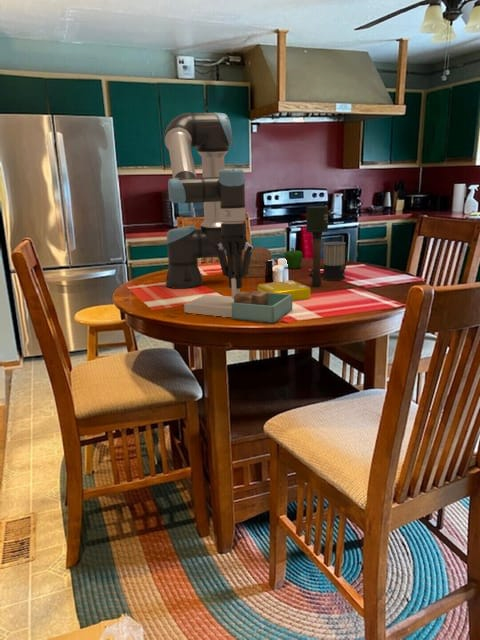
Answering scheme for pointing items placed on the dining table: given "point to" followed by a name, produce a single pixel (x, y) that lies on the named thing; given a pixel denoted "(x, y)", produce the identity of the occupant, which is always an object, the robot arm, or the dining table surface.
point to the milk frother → (334, 261)
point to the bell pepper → (293, 258)
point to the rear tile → (243, 297)
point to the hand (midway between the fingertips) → (236, 298)
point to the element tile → (287, 289)
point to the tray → (264, 309)
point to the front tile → (260, 298)
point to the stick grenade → (317, 236)
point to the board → (211, 305)
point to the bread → (257, 261)
